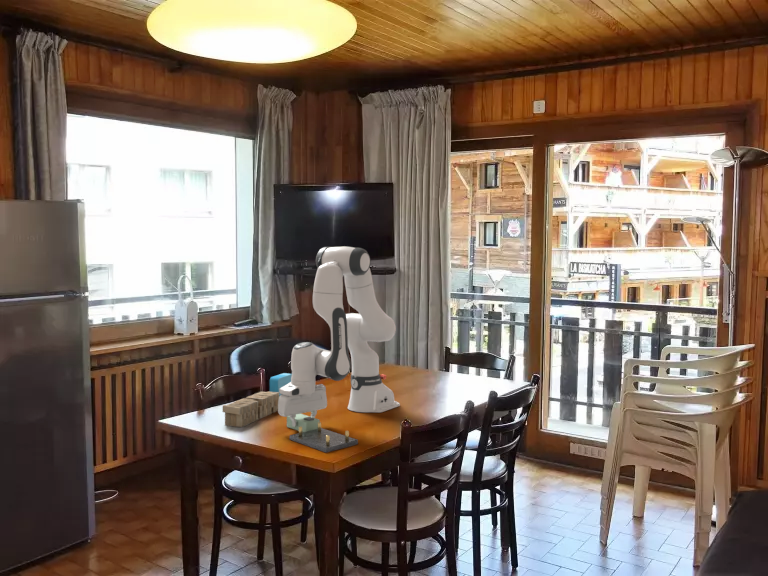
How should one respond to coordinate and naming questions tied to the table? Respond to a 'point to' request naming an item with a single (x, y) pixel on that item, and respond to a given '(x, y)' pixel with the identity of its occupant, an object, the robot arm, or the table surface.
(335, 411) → the table surface
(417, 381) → the table surface
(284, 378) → the data package
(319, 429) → the plate
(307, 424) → the pale green block
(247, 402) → the block tower
